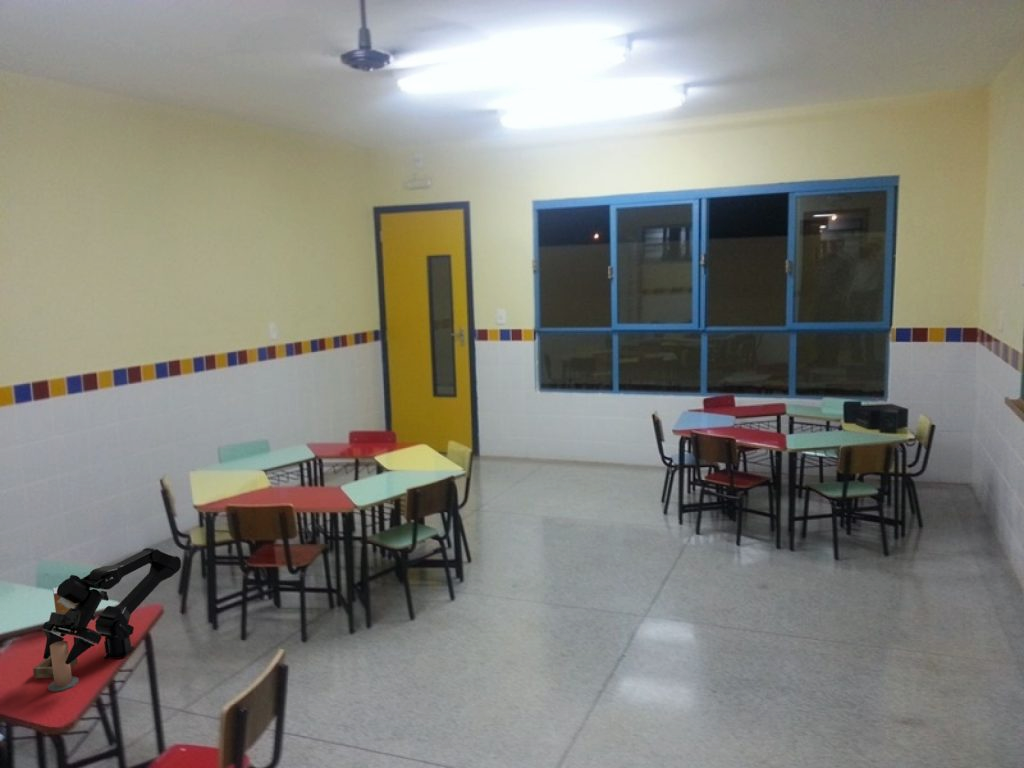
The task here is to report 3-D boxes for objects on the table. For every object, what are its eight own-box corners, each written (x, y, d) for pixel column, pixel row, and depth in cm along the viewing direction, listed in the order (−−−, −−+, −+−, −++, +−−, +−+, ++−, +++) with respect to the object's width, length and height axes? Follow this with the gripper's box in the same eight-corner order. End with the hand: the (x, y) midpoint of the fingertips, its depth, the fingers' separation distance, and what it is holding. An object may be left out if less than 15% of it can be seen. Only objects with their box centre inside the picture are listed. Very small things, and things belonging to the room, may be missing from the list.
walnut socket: (77, 663, 233) (76, 654, 233) (60, 677, 225) (59, 668, 225) (52, 664, 234) (50, 654, 233) (34, 678, 226) (33, 668, 225)
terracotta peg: (72, 677, 224) (67, 639, 223) (72, 683, 221) (67, 645, 219) (54, 682, 222) (49, 643, 220) (54, 688, 218) (49, 649, 217)
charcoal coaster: (83, 677, 225) (83, 676, 225) (68, 691, 217) (67, 690, 217) (59, 677, 225) (59, 676, 225) (42, 691, 218) (42, 690, 218)
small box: (58, 630, 257) (53, 593, 255) (57, 623, 262) (52, 587, 261) (85, 623, 262) (80, 587, 260) (83, 616, 267) (79, 581, 265)
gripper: (43, 595, 225) (12, 647, 216) (87, 603, 218) (56, 657, 209) (71, 608, 233) (41, 659, 225) (114, 617, 226) (85, 669, 218)
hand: (55, 661), depth 219 cm, fingers open, 9 cm apart
